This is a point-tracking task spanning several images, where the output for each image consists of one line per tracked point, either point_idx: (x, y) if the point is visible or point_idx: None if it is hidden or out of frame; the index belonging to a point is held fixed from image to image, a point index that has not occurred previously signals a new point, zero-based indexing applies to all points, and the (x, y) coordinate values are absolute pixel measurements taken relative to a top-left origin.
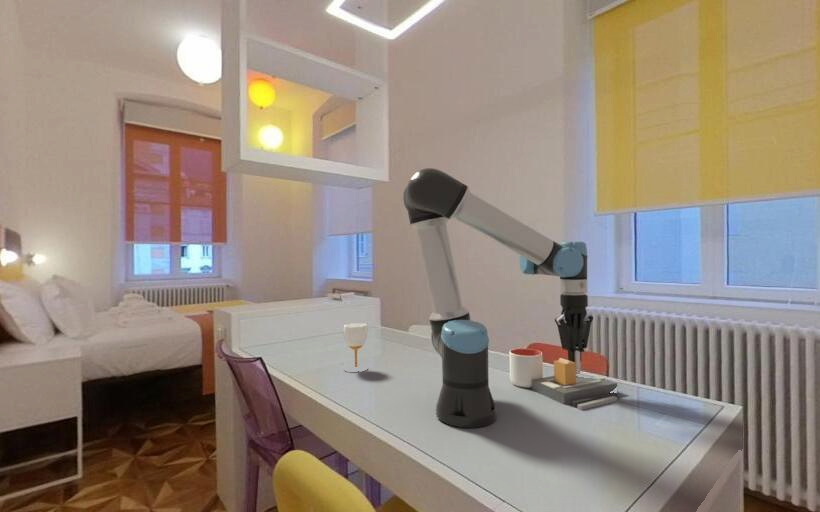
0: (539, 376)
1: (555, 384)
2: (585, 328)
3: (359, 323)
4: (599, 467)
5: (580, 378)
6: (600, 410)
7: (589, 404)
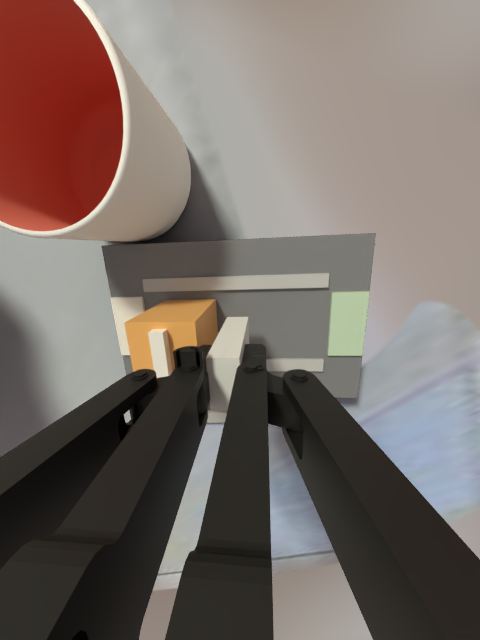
0: (137, 238)
1: None
2: (374, 612)
3: None
4: None
5: (283, 310)
6: (202, 435)
7: None
